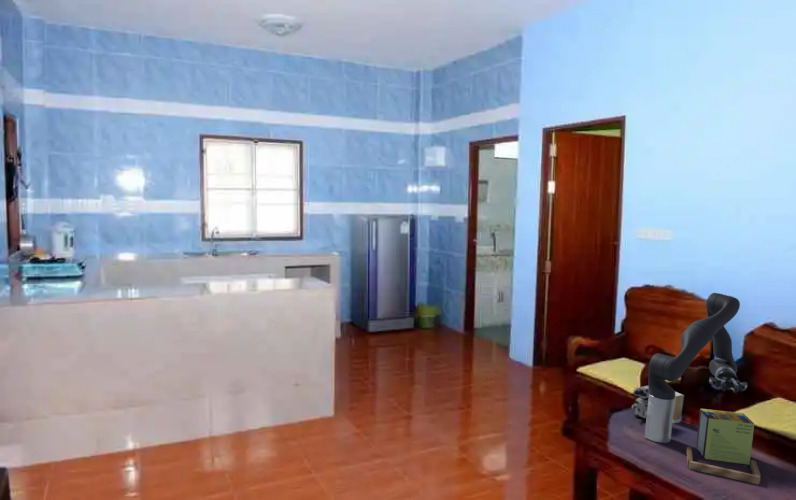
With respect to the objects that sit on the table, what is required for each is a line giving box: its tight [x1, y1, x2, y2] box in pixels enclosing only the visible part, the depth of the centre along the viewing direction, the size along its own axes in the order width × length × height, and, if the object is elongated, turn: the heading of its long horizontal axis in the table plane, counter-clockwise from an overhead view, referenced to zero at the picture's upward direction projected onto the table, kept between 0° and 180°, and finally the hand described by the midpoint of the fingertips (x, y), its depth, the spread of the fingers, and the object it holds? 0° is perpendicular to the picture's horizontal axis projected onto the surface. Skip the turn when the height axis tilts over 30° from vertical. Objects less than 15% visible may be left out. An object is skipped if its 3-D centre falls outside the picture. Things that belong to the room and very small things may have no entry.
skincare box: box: [672, 391, 685, 424], centre depth 246 cm, size 6×4×12 cm
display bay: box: [686, 446, 762, 485], centre depth 203 cm, size 22×14×2 cm, turn 65°
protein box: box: [695, 408, 755, 465], centre depth 213 cm, size 10×15×16 cm
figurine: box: [631, 384, 649, 419], centre depth 243 cm, size 9×12×15 cm
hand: (730, 389), depth 222 cm, fingers open, 3 cm apart
